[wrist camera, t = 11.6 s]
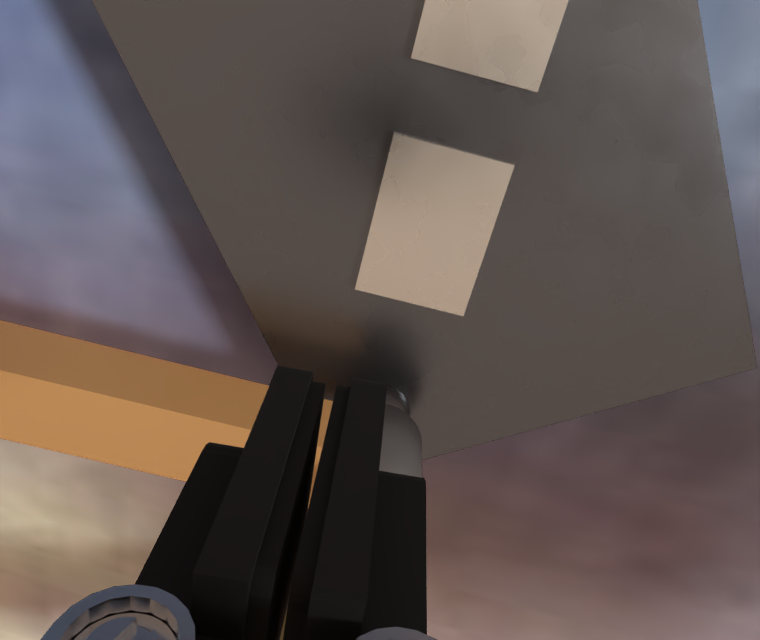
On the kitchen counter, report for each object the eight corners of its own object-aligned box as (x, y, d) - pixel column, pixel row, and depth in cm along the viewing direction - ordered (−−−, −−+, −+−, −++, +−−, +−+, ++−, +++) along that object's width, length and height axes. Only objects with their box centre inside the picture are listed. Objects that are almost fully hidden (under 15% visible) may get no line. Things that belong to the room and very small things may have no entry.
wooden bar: (433, 415, 21) (435, 466, 18) (407, 490, 22) (405, 547, 20) (-263, 244, 19) (-357, 276, 17) (-245, 336, 21) (-329, 378, 18)
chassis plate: (730, 339, 23) (779, 392, 20) (344, 450, 26) (333, 511, 23) (585, -479, 15) (631, -614, 11) (35, -175, 18) (-49, -214, 14)
